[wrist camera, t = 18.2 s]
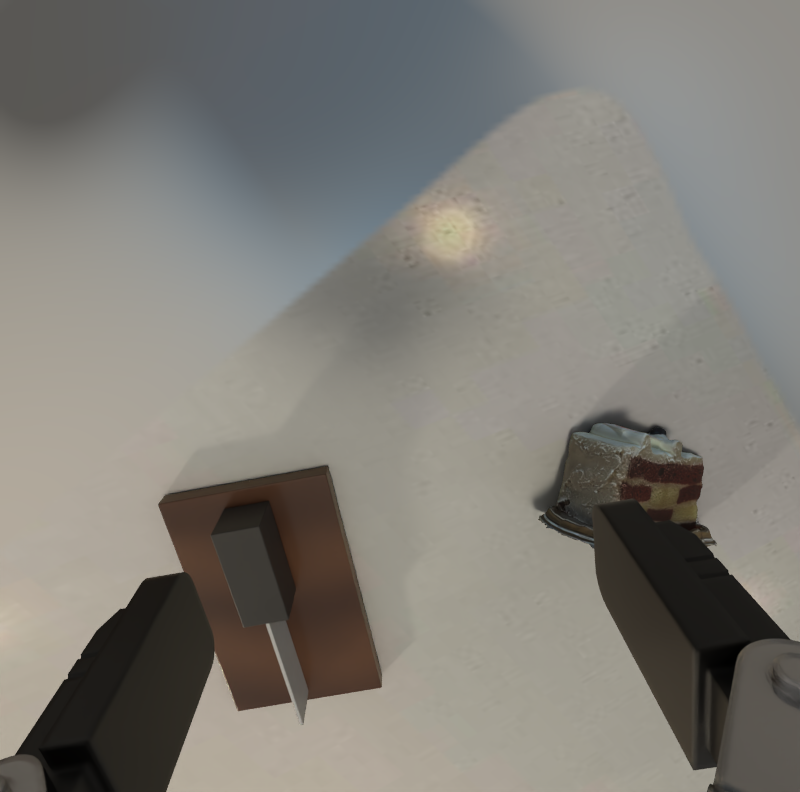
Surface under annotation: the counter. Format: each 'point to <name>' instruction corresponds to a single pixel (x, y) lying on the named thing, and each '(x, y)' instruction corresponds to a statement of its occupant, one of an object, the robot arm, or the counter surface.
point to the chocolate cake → (627, 480)
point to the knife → (261, 584)
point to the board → (313, 577)
